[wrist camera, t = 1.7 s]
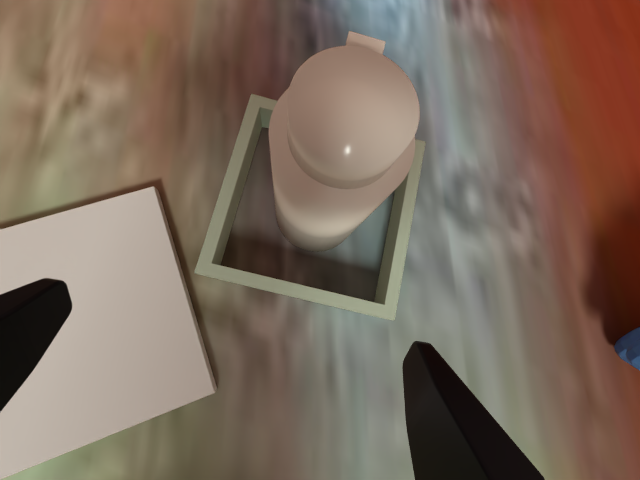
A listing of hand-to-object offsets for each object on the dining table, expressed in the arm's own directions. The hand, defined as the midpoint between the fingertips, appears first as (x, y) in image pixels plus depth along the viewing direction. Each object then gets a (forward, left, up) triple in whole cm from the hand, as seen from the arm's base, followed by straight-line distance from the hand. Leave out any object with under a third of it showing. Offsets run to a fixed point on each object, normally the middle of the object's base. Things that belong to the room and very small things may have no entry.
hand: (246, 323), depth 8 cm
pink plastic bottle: (+5, -5, -13) cm, 15 cm away
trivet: (+3, +12, -13) cm, 18 cm away
